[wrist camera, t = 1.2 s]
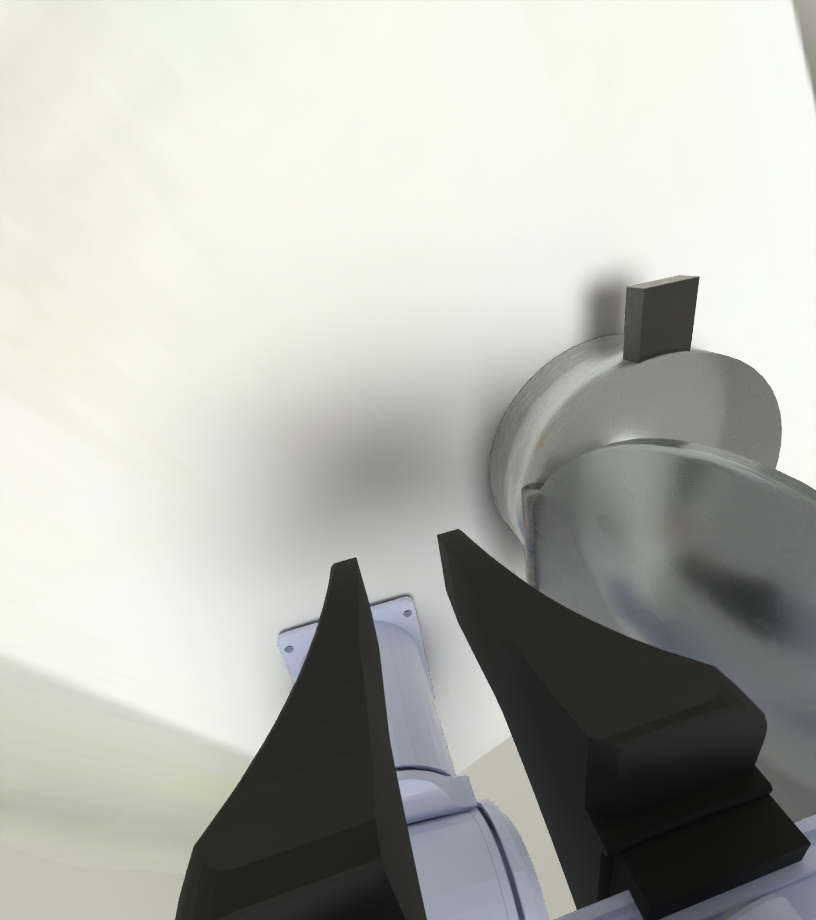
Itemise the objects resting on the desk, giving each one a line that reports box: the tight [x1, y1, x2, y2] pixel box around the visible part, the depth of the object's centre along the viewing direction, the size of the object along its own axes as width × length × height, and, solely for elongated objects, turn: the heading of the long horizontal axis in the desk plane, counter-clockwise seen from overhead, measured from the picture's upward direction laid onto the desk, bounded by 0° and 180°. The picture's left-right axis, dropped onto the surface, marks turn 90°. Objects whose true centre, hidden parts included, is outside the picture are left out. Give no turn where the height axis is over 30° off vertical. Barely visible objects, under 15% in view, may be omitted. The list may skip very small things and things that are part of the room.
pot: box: [489, 275, 782, 545], centre depth 23 cm, size 19×13×5 cm
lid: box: [521, 438, 816, 823], centre depth 13 cm, size 13×17×1 cm
